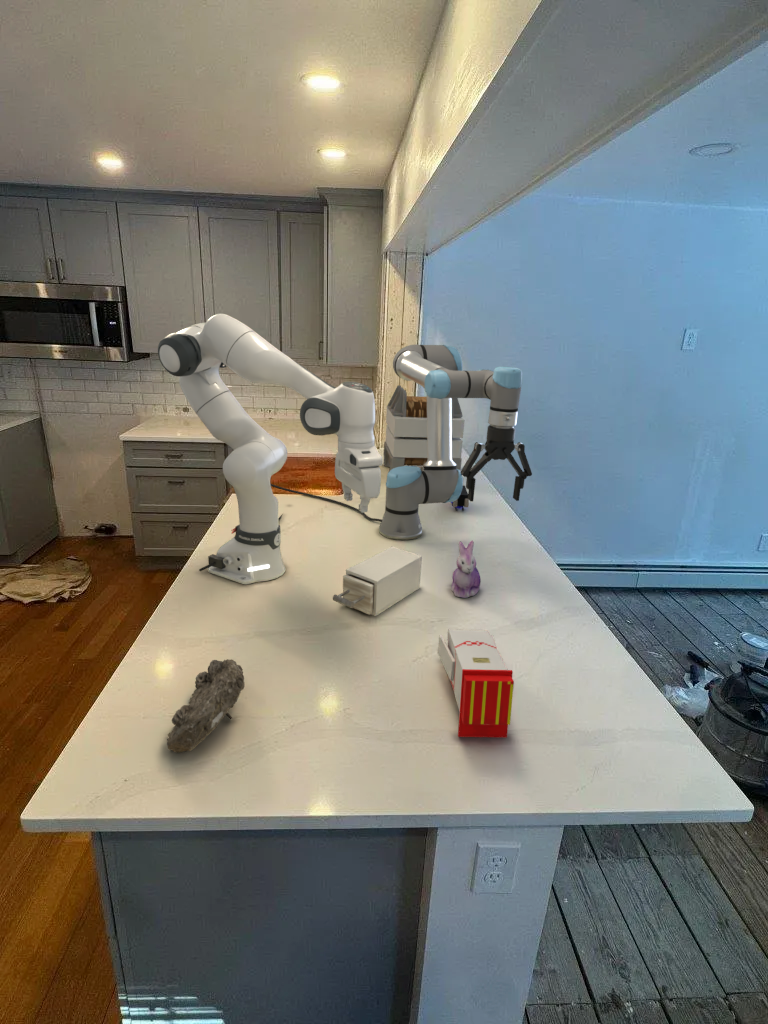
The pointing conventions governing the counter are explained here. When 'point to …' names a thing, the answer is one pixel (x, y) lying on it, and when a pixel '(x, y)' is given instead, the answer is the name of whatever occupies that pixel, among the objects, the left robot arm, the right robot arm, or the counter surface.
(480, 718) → the toy
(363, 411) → the left robot arm
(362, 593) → the drawer
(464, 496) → the figurine character
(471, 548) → the figurine
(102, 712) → the counter surface
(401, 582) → the cabinet
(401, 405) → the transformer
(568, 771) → the counter surface
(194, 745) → the fossil
